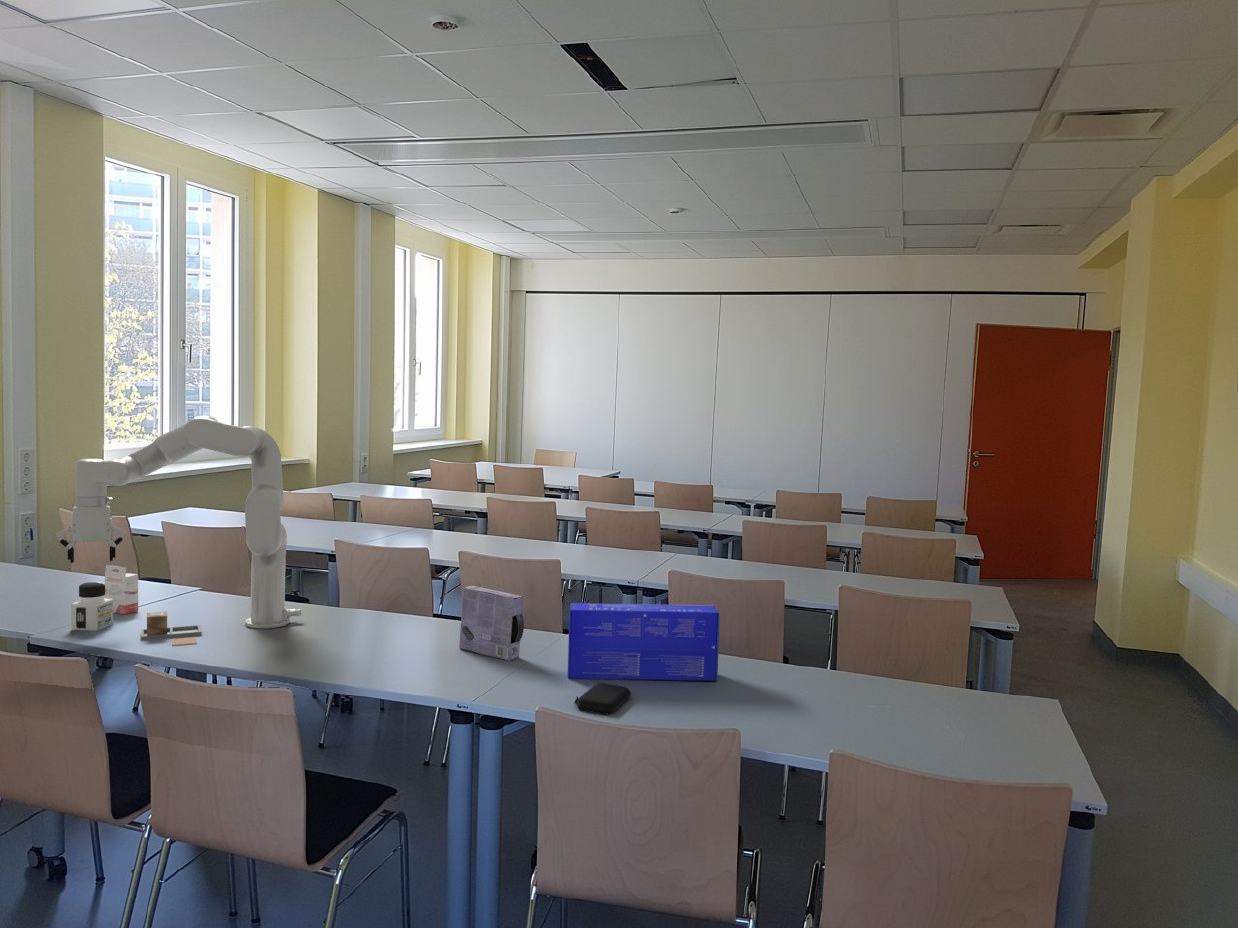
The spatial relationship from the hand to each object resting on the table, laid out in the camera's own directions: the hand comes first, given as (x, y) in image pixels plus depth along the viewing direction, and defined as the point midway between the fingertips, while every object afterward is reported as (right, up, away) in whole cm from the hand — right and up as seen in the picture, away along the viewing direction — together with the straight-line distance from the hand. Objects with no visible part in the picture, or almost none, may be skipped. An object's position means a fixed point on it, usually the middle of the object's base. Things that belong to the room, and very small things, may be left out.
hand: (91, 561), depth 252 cm
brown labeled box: (+21, -20, -5) cm, 30 cm away
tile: (+31, -21, -10) cm, 39 cm away
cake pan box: (+116, -25, -8) cm, 119 cm away
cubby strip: (+24, -21, -3) cm, 32 cm away
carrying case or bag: (+147, -29, -44) cm, 156 cm away
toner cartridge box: (+157, -28, -22) cm, 161 cm away
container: (-1, -20, +2) cm, 20 cm away
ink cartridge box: (-3, -18, +20) cm, 27 cm away
